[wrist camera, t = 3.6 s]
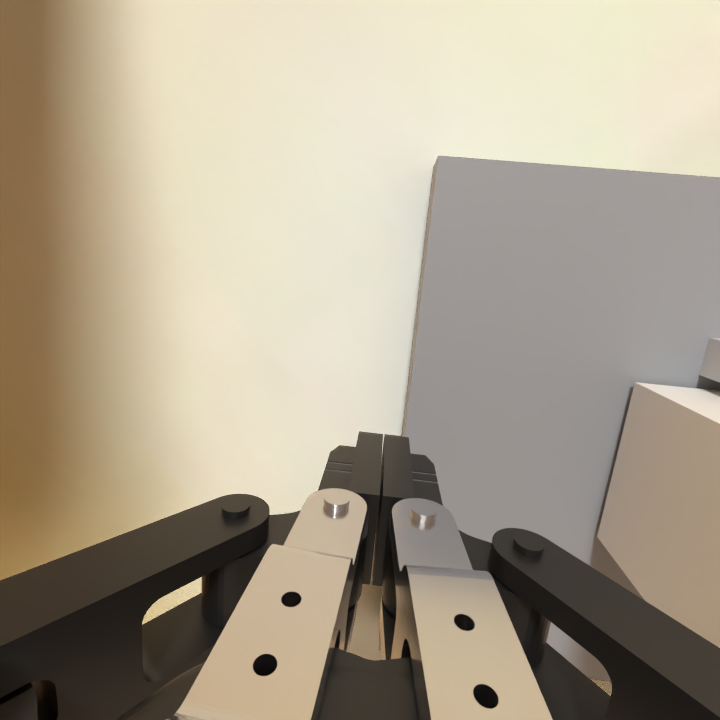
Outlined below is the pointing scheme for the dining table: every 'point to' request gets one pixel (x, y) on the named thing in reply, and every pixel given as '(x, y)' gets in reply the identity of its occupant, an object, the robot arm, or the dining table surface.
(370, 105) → the dining table surface
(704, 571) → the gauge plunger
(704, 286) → the stand
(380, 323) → the dining table surface
